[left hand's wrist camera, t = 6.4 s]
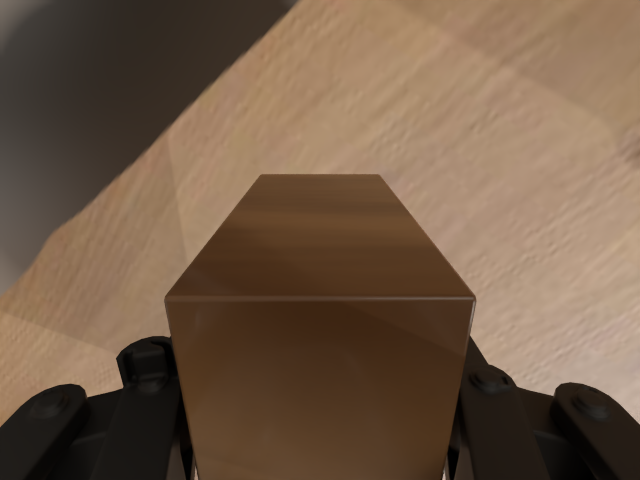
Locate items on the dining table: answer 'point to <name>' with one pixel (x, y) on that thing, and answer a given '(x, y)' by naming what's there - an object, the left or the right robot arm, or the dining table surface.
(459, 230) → the dining table surface
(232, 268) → the bar
